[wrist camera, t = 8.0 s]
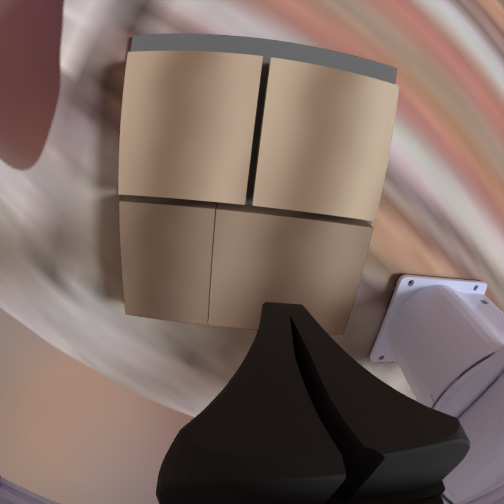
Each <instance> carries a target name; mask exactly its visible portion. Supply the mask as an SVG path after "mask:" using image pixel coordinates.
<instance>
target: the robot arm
mask: <svg viewBox="0 0 504 504" xmlns="http://www.w3.org/2000/svg"><path fill="white" fill-rule="evenodd" d="M410 280H412V281H411V283H410V284H408V282H409V281H410ZM486 289H487V284H486V283H485V282H484V281H475V280H463V279H452V278H440V277H429V276H417V275H406V274H405V275H402V276H400V277H399V279H398V281H397V284H396V287H395V290H394V293H393V296H392V299H391V302H390V305H389V307H388V310H387V313H386V316H385V318H384V321H383V324H382V326H381V329H380V331H379V334H378V337H377V339H376V342H375V344H374V346H373V349H372V351H371V354H370V359H371V361H372V362H392V361H397V363H398V364H399V366H400V368H401V370H402V372H403V374H404V376H405V378H406V380H407V382H408V384H409V386H410V388H411V390H412V392H413V394H414V396H415V398H416V400H417V401H415V400H413V399H411V398H409V397H407V396H405V395H404V394H402V393H400V392H398V391H397V390H395V389H393V388H392V387H390V386H389V385H387V384H386V383H384V382H382V381H381V380H380V379H378V378H377V377H375V376H374V375H373V374H371V373H370V372H369V371H367V370H366V369H365V368H364V367H362V366H361V365H360V364H359V363H357V362H356V361H355V360H354V359H353V358H352V357H350V356H349V355H348V354H347V353H346V352H345V351H344V350H343V349H342V348H341V347H340V346H339V345H338V344H337V343H336V342H335V341H334V340H333V339H332V338H331V337H330V336H329V335H328V334H327V332H326V331H325V330H324V329H323V328H322V327H321V326H320V325H319V323H318V322H317V321H316V320H315V319H314V318H313V317H312V315H311V314H310V313H309V312H308V311H307V309H306V308H305V307H304V306H303V305H302V304H289V303H276V302H265V303H264V304H262V310H261V316H260V323H259V329H258V332H257V335H256V337H255V340H254V342H253V344H252V346H251V348H250V350H249V352H248V354H247V356H246V357H245V359H244V361H243V362H242V364H241V366H240V367H239V369H238V370H237V372H236V373H235V374H234V376H233V377H232V378H231V380H230V381H229V383H228V384H227V385H226V386H225V388H224V389H223V390H222V391H221V392H220V393H219V394H218V395H217V397H216V398H215V399H214V400H213V401H212V402H211V403H210V404H209V405H208V406H207V407H206V408H205V409H204V410H203V411H202V412H201V413H200V414H198V415H197V416H196V417H195V418H194V419H193V420H191V422H189V423H188V424H187V425H185V426H184V427H183V428H182V429H181V430H180V431H179V433H178V434H177V436H176V438H175V439H174V441H173V443H172V444H171V446H170V448H169V450H168V452H167V454H166V456H165V458H164V460H163V463H162V465H161V468H160V471H159V475H158V482H157V489H156V496H157V499H158V501H159V504H504V313H503V312H502V311H501V310H500V309H498V308H497V307H496V306H495V305H494V304H493V303H492V302H491V301H490V300H489V299H488V298H487V297H486V296H485V295H484V293H485V291H486ZM380 356H381V357H380ZM0 504H59V503H57V502H55V501H52V500H49V499H47V498H45V497H43V496H40V495H38V494H36V493H33V492H31V491H29V490H27V489H25V488H23V487H20V486H18V485H16V484H14V483H12V482H10V481H8V480H6V479H5V478H3V477H1V476H0Z"/></svg>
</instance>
